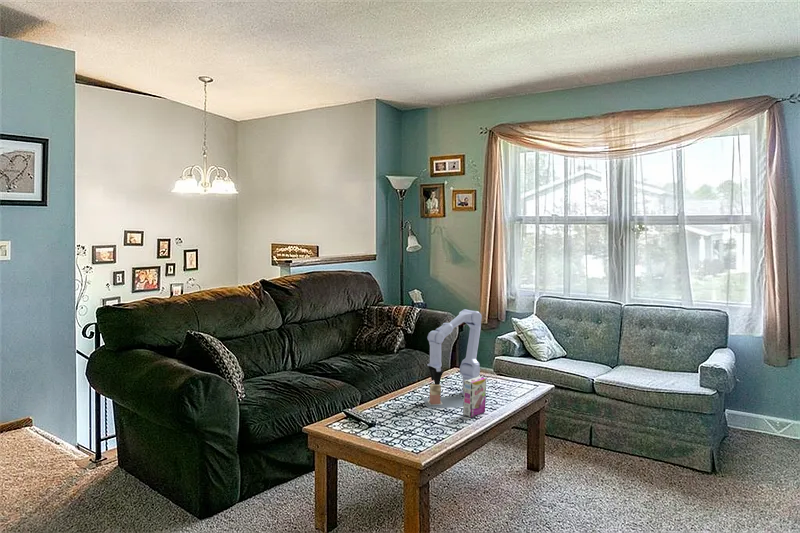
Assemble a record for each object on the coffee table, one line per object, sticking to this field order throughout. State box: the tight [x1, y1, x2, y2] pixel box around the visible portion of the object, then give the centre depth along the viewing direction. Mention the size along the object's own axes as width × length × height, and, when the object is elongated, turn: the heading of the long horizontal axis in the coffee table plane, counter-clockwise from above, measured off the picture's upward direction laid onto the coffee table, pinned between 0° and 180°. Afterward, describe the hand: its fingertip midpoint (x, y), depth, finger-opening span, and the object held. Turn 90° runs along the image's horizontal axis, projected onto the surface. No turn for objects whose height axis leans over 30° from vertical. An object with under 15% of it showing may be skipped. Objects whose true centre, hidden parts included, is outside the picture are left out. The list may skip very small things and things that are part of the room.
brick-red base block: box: [429, 392, 441, 404], centre depth 273 cm, size 4×4×4 cm
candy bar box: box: [462, 376, 487, 418], centre depth 257 cm, size 11×5×16 cm, turn 134°
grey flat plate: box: [421, 395, 464, 409], centre depth 274 cm, size 20×16×1 cm
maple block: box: [429, 382, 442, 396], centre depth 272 cm, size 4×4×4 cm
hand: (435, 382), depth 272 cm, fingers open, 7 cm apart
